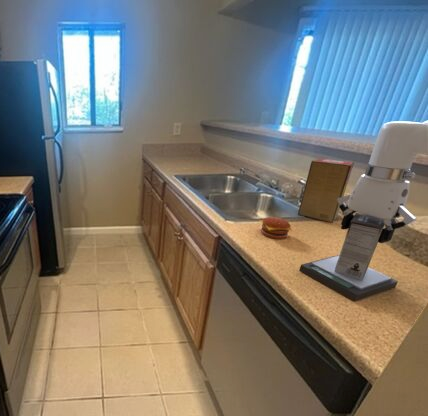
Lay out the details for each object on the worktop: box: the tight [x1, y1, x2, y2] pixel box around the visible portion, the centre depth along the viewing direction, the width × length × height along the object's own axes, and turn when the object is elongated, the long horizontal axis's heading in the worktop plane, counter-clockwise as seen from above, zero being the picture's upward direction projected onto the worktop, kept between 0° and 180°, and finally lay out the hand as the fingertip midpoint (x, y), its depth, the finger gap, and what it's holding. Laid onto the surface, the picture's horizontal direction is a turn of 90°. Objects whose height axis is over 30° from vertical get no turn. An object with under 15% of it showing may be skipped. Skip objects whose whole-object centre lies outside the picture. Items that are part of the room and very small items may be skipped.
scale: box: [299, 254, 399, 302], centre depth 80 cm, size 15×17×3 cm
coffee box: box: [335, 212, 385, 280], centre depth 77 cm, size 9×6×16 cm
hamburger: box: [259, 216, 294, 240], centre depth 107 cm, size 9×10×7 cm
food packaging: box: [297, 157, 355, 224], centre depth 120 cm, size 13×9×25 cm
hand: (363, 234), depth 75 cm, fingers closed on coffee box, 8 cm apart
